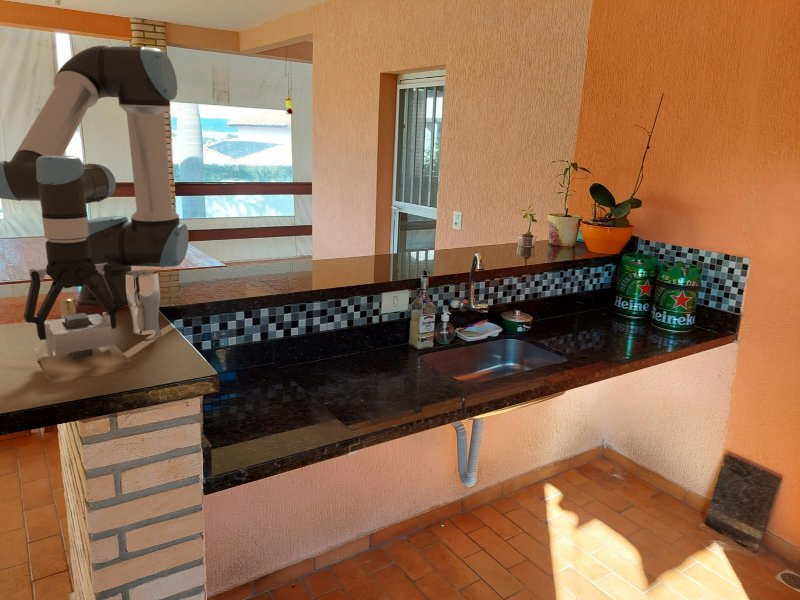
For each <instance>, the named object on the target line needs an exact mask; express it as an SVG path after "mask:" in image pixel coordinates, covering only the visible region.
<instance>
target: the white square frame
mask: <svg viewBox="0 0 800 600" xmlns="http://www.w3.org/2000/svg"><path fill="white" fill-rule="evenodd" d="M86 315H87V316H88V317H89V324H90V325H89V326H83V327H76V328H70V329H66V325H65V319H62V318H60V319H52V320H47V321H48V323H49V325H50V334H51V342H52V350H53V351H54V353H55V354H56V355H60V354H65V353H71V352H77V351H83V350H88V349H94V348H100V347H106V346H111V345H113V343H114V339H113V330H112V328H111V325H110V324H109V323H108V322H107V321H105V320H104V319H103V316H102V315H100V314H99V313H94V314H86Z"/></svg>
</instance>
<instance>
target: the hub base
mask: <svg viewBox="0 0 800 600" xmlns="http://www.w3.org/2000/svg"><path fill="white" fill-rule="evenodd" d="M87 315H88V314H86V313H85V312H82V313H76V314H73V315H66V316H64V317H65V325H66V329H70V328H76V327H83V326H89V325H90V324H89V317H88V316H87ZM32 350H33V352H34V353H35V354H36V356H37V359H38V360H36V362H37V363H38V365H39V367H40V368H41V370H42V372H43V373H44V375H45V377H46V379H47V381H48V382H49V384H50V385H54V384H59V383H64V382H69V381H73V380H79V379H85V378H87V377H88V378H89V377H93V376H99V375H103V374H108V373H115V372H118V371H124V370H128V369H132V360H131V359H130V358H129V357H127V355H125V353H124V352H123V351H122V350H121V349H119V348H118V346H117V345H116V344H115V343H114V342H113V346H106V347H100V348H94V349H88V350H83V351H77V352H71V353H65V354H60V355H56V354H55V353H54V351H53V356H50V357H49V356H48V354H47V353H46V346H40V347H34V348H32Z"/></svg>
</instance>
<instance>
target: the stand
mask: <svg viewBox="0 0 800 600" xmlns="http://www.w3.org/2000/svg"><path fill="white" fill-rule="evenodd" d="M58 302H59V307H60V309H59V310H60V316H61V318H60V319H65V317H64V316H66V315H73V314H77V310H76V309H77V308H76V300H75V298H72V297H67V298H62V299H61V298H60V299H59V301H58Z"/></svg>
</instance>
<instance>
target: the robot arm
mask: <svg viewBox="0 0 800 600" xmlns="http://www.w3.org/2000/svg"><path fill="white" fill-rule="evenodd" d="M177 80H178V79H177V76H176V72H175V68H174V66H173V63H172V61H171V59H170V57H169V55H167V53H166V52H165V51H163V50H162V49H159V48H155V47H147V46H119V45H118V46H114V45H113V46H112V45H111V46H110V45H109V46H108V45H95V46H91V47H88V48H85V49H84V50H81V51H80V52H78V53H76V54H75V55H73V56H72V57H70V59H68V60H66V62H65V63H64V64H63V65H62V66H61V67H60V69H59V70H58V72H57V73H56V74H55V76H54V78H53V87H54V88H53V90H52V91H51V93H50V95H49V97H48V98H47V100H46V101H45V103H44V105H43V107H42V108H41V110H40V111H39V113H38V115H37V116H36V118H35V120H34V121H33V123H32V125H31V126H30V129H28V131H27V133H26V135H25V137H24V138H23V140H22V141H21V143H20V145H19V147H18V149H16V152H15V153H14V155H13V157H11V159H10V160H9V161H8V160H3V161H0V199H3V200H11V201H18V202H21V201H29V202H30V201H37V202H40V208H41V217H42V224H43V233H44V238H45V239H46V242H45V251H46V253H45V254H46V259H47V265H46V267H45V268H42V269H35V268H32V269H30V270H29V272H28V273H29V278H30V284H29V289H28V294H27V299H26V305H25V310H24V314H23V319H24V320H25V322H27V323H28V324H29V323H30V324H31V323H33V324H35V325H36V326H35V327H36V332H37V338H39V340H40V341H43V340H44V342H45V343H44V344H45V346H46V353H47V354H48V356H49V357H50V356H53V350H52V342H51V334H50V325H49V323H48V321H49V320H47V318H48V317H49V314H50V313H51V311H52V308H53V307H54V305H55V302H56V301H57V299H58V297H59V295H60V293H62V291H63V290H64V289H70V288H73V287H77V288H79V287H80V290H79V295H78V303H81V304H84V305H88V306H102V307H103V308H104V309H105V311H104V312H102V318H103V319H104V320H105V321H107V322H108V323H109V324H110V325H111V328H112V329H116V328H117V322H116V321H117V320H116V314H117V312H118V311H122V310H124V308H125V306H126V305H127V306H129V305H128V301H127V295H126V273H127V272H129V271H133V270H132V267H152V268H154V267H156V268H157V267H158V268H169V267H170V268H174V267H178V266H180V265H181V264H182V263H183V261H184V260H185V258H186V255H187V252H188V247H189V238H190V237H189V230H188V226H187V225H186V224H185V223H183V222H180V215H179V213H177V212H176V211H175V210H174V209H173V204H172V203H173V202H172V192H171V191H172V190H171V189H172V188H171V181H170V180H171V179H170V168H169V167H170V166H169V156H168V155H169V154H168V144H167V143H168V142H167V133H166V122H165V121H166V119H165V114H166V113H167V111H168V110H169V109H171V103H170V101H172V100H175V99H176V97H177V96H178V95H177V94H178V81H177ZM102 98H117V99H118V106H119V108H121V109H122V110H123V111H124V112H125V113H126V118H127V119H126V120H127V129H128V138H129V148H130V159H131V168H132V177H133V187H134V188H133V189H134V195H135V196H134V197H135V207H136V211H135V212H134V213H133V214H132V215H131V217H130V220H131V221H129V219H128V217H127V215H112V216H111V215H110V216H104V217H97V218H90V219H89V218H88V217H89V216H88V211H87V210H88V208H87V204H91V203H99V202H101V201H102V202H103V200H107V199H108V198H110V197H111V196H112V195H113V194H114V193H115V191H116V187H117V186H116V185H117V184H116V183H117V181H116V178H115V175H114V174H113V172H112V171H111V170H110V169H109V168H108V167H106V166H104V165H102V164H96V163H86V164H83V162H82V160H81V158H80V157H78V156H76V155H75V156H74V155H64V154H65V153H66V150H67V148H68V147H69V145H70V143H71V140H72V139H73V137H74V135H75V133H76V131H77V130H78V128H79V126H80V123H82V120H83V118H84V117H85V115H86V112H87V111H88V109H89V108H92V107H93V106H95V105H96V104H97V102H98V101H99V99H102ZM46 276H49V278H50V279H52V283H51V285H50V288H49V290H48V293H47V294H46V296H45V297H44V300H43V302H42V304H41V305H40V307H39V310H38V311H37V314H36V315H35V313H36V309H37V304H38V299H39V294H40V289H41V282H43V281H44V280H45V277H46ZM45 346H44V347H45ZM111 346H113V345H111Z"/></svg>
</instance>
